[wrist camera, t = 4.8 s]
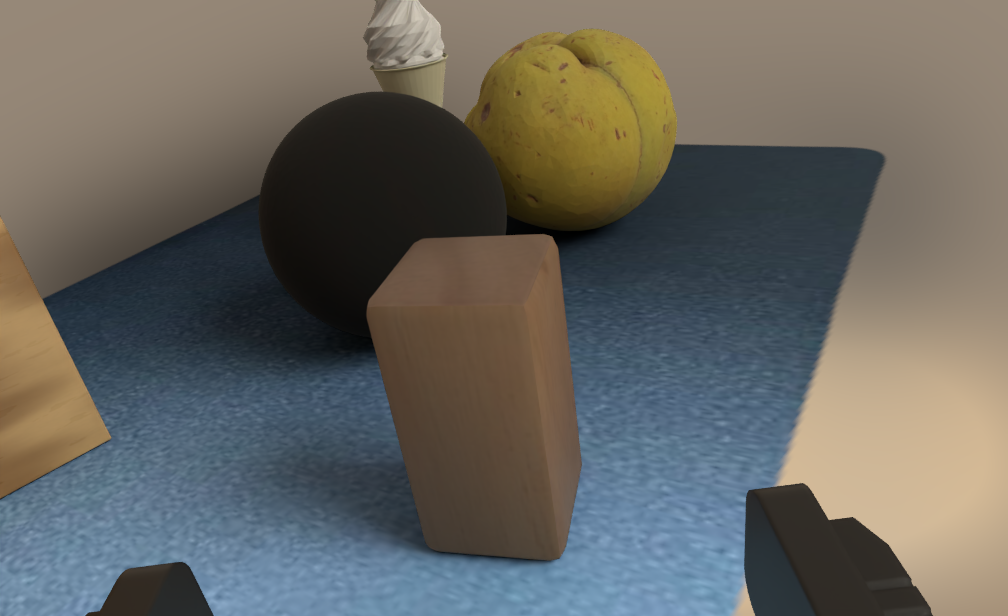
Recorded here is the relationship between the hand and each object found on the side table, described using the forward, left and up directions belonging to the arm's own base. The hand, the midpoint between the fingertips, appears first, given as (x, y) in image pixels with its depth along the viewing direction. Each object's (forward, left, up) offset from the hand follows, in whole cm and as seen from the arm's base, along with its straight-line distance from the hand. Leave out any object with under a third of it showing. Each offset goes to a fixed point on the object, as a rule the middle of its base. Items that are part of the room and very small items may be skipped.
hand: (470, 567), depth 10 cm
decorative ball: (+12, +17, -7) cm, 22 cm away
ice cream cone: (+26, +31, -7) cm, 41 cm away
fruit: (+24, +17, -7) cm, 31 cm away
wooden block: (+6, +6, -7) cm, 11 cm away
